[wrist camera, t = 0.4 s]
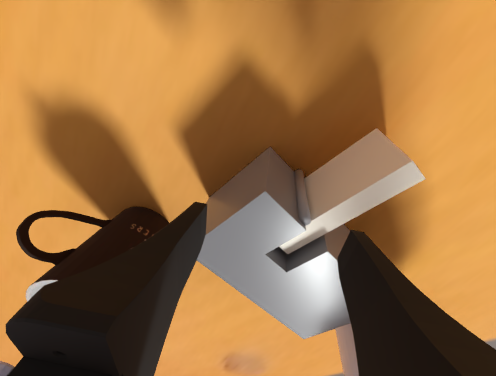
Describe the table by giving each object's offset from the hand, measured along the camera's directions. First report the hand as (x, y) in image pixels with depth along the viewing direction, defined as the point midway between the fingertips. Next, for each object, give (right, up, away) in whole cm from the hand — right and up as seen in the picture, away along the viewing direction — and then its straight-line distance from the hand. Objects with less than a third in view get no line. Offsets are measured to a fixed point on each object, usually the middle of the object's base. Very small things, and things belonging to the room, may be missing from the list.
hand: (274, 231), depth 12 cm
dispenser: (+3, -1, +12) cm, 12 cm away
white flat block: (+5, +4, +9) cm, 11 cm away
